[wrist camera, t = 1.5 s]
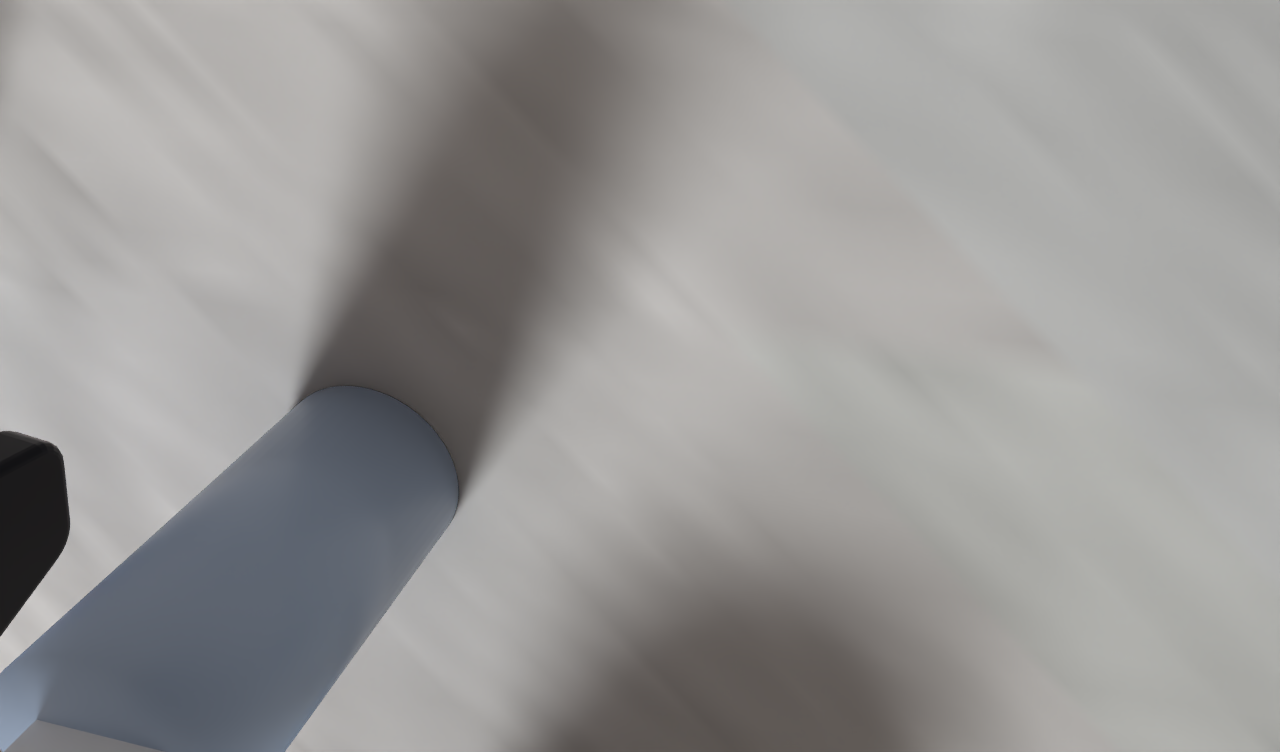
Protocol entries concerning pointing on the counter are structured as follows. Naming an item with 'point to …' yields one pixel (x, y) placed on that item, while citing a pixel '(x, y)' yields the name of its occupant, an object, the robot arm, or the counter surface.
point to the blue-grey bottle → (244, 592)
